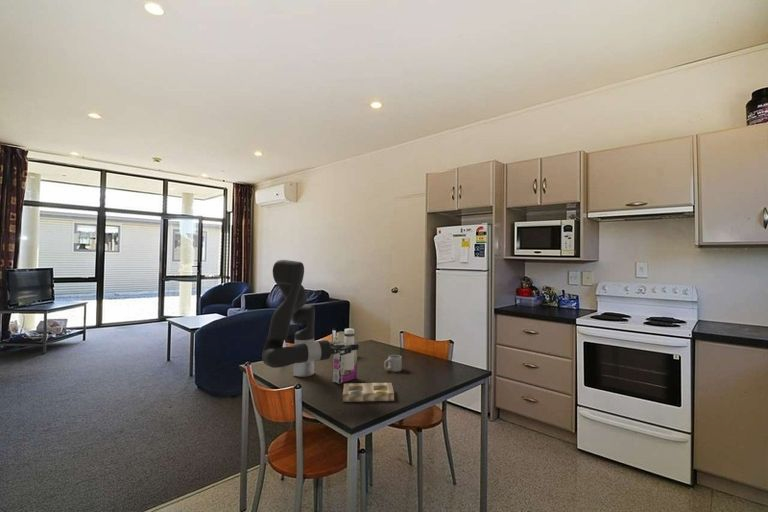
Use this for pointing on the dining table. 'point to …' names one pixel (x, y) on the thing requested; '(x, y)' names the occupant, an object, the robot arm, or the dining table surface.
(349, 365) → the white tall cylinder
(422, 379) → the dining table surface
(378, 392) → the socket board
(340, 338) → the character mug
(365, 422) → the dining table surface
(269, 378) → the dining table surface
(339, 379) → the candy bar box
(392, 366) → the mug
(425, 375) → the dining table surface
